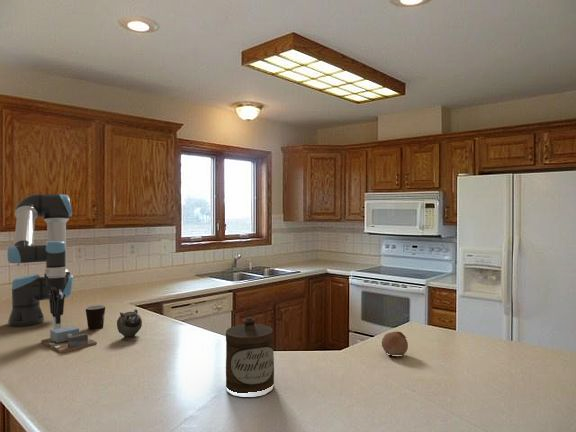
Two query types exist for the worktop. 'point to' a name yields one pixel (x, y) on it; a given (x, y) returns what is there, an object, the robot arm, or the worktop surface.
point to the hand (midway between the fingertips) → (57, 330)
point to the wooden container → (249, 357)
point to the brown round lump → (395, 343)
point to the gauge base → (65, 345)
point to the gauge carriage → (63, 333)
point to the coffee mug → (95, 317)
